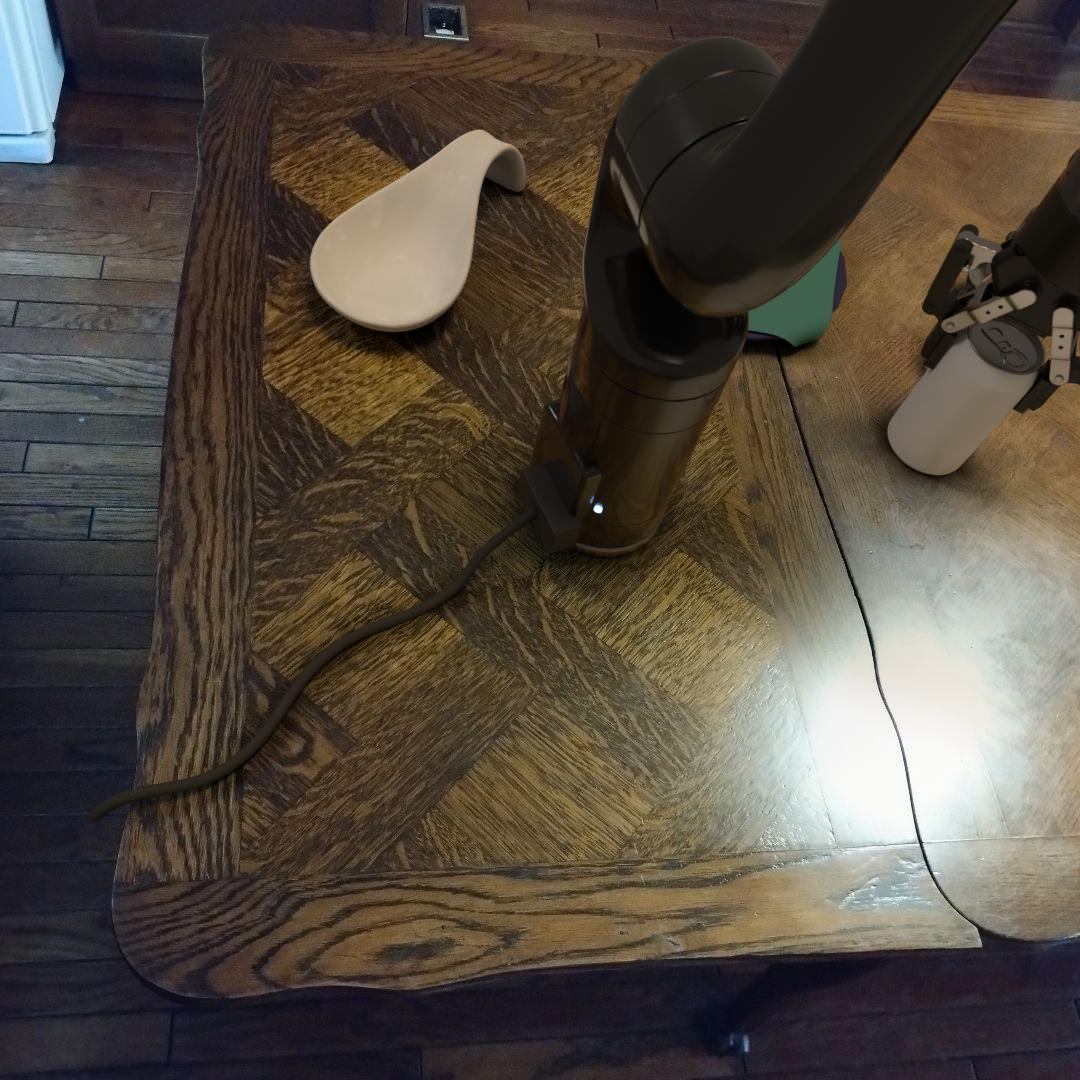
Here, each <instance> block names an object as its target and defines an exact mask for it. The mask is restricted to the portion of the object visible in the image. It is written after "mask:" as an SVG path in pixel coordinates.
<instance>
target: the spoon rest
mask: <svg viewBox="0 0 1080 1080" xmlns="http://www.w3.org/2000/svg"><path fill="white" fill-rule="evenodd" d="M485 178H486V179H488V180H490V181H491V182H494V183H496V184H498V185H500V186H502V187H504V188H506V189H508V190H510V191H513V192H517V193H518V192H523V191H524V190H525V189H526V185H527V172H526V166H525V161H524V158H523V156H522V154H521V152H520V151H519V149H518V148H517V147H516V146H514V145H513V144H510V143H506V142H504V141H502V140H500V139H497V138H496V137H494V136H493V135H491V133H489V132H488V131H487V130H484V129H475V130H471V131H468V132H466V133H464V134H461V135H460V136H458V137H457V138H455V139H454V140H453V141H451V142H450V143H449V144H447V145H446V146H445V147H443V148H442V149H441V150H440V151H438V152H437V153H436V154H434V155H433V156H431V157H430V158H429V159H428V160H425V161H424V162H423V163H421V164H419V166H417V167H416V168H414V169H412V170H411V171H409V172H407V173H406V174H404V175H402V176H401V177H399V178H397V179H396V180H394V181H393V182H391V183H389V184H387V185H386V186H384V187H381V189H379V190H377V191H375V192H374V193H372V194H370V195H369V196H367V197H365V198H364V199H362V200H361V201H359V202H357V203H356V204H354V205H353V206H352V207H350V208H349V209H347V210H346V211H343V213H341V214H340V215H338V216H336V218H335V219H333V220H332V221H331V222H330V223H329V224H328V225H327V226H326V227H325V228H324V229H323V230H322V231H321V233H320V234H319V235H318V237H317V239H316V241H315V243H314V245H313V247H312V250H311V253H310V258H309V271H310V276H311V280H312V283H313V285H314V287H315V290H316V291H317V293H318V294H319V296H320V297H321V299H322V300H323V301H324V302H325V303H326V304H327V306H329V307H330V308H332V309H333V310H334V311H335V312H336V313H338V314H339V315H341V316H342V317H344V318H345V319H347V320H349V321H350V322H352V323H354V324H356V325H359V326H362V327H364V328H367V329H370V330H375V331H380V332H385V333H386V332H388V333H399V332H401V333H402V332H408V331H412V330H416V329H420V328H422V327H425V326H427V325H429V324H431V323H433V322H434V321H435V320H437V319H438V318H440V317H442V315H444V314H445V313H446V312H447V311H448V310H449V309H450V308H451V307H452V306H453V304H454V303H455V302H456V301H457V299H458V298H459V297H460V296H461V295H460V294H461V293H462V291H463V289H464V287H465V285H466V283H467V280H468V276H469V273H470V269H471V264H472V261H473V254H474V253H473V252H474V244H475V237H476V225H477V218H478V217H477V216H478V209H479V203H480V195H481V190H482V188H483V184H484V180H485Z"/></svg>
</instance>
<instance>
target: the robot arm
mask: <svg viewBox="0 0 1080 1080" xmlns="http://www.w3.org/2000/svg"><path fill="white" fill-rule="evenodd" d="M1020 1H1021V0H824V2H823V3H822V5H821V8H820V10H819V11H818V13H817V15H816V18H815V19H814V20H813V23H812V24H811V25H810V27H809V29H808V31H807V33H806V34H805V36H804V38H803V40H802V41H801V43H800V44H799V46H798V47H797V49H796V51H795V52H794V54H793V55H792V56H791V58H790V59H789V61H788V62H787V64H786V65H785V67H784V68H781V65H780V64H779V63H778V62H777V61H776V60H775V59H774V58H773V57H772V56H771V54H769V53H768V52H767V51H765V50H764V49H763V48H762V47H760V46H758V45H757V44H755V43H753V42H750V41H748V40H746V39H742V38H739V37H733V36H725V35H724V36H723V35H722V36H721V35H718V36H709V37H702V38H699V39H695V40H693V41H689V42H687V43H684V44H682V45H680V46H678V47H676V48H674V49H672V50H670V51H669V52H667V53H666V54H664V55H663V56H661V57H660V58H658V59H657V60H656V61H655V62H653V64H651V65H650V66H649V67H648V68H647V69H646V70H645V71H644V72H643V73H642V74H641V75H640V77H638V79H637V80H636V82H634V84H633V86H632V87H631V88H630V89H629V91H628V92H627V93H626V95H625V97H624V98H623V100H622V101H621V104H620V106H619V107H618V109H617V111H616V114H615V116H614V118H613V120H612V123H611V124H610V128H609V131H608V134H607V137H606V139H605V142H604V145H603V146H604V147H603V151H602V154H601V158H600V163H599V167H598V172H597V177H596V180H595V181H596V182H595V187H594V191H593V196H592V201H591V207H590V211H589V217H588V222H587V227H586V232H585V238H584V242H583V248H582V256H581V257H582V258H581V283H582V285H581V286H582V295H583V305H582V309H581V314H580V318H579V323H578V326H577V329H576V333H575V334H576V335H575V338H574V342H573V346H572V349H571V352H570V356H569V360H568V364H567V367H566V371H565V374H564V379H563V382H562V386H561V388H560V389H561V390H560V393H559V397H558V399H554V400H551V401H548V402H545V403H544V405H543V408H542V411H541V415H540V419H539V423H538V427H537V428H538V429H537V432H536V435H535V440H534V444H533V448H532V449H533V450H532V453H531V455H530V461H529V464H528V467H526V468H523V469H521V471H520V476H519V480H518V484H517V487H516V492H517V494H518V496H519V499H520V500H521V503H522V504H523V507H524V508H525V510H526V512H524V513H523V514H522V515H520V516H518V517H517V518H516V519H514V520H513V521H512V522H510V523H509V524H507V525H505V527H503V528H502V529H501V530H500V531H498V532H497V533H496V534H494V535H493V536H492V537H491V538H490V539H488V540H487V541H486V542H485V543H484V544H483V545H481V547H480V548H479V549H478V550H477V551H476V552H475V553H474V554H473V555H472V557H470V559H469V561H468V562H467V563H466V565H465V566H464V568H463V569H462V571H461V572H460V574H459V575H458V576H457V578H455V579H454V581H452V582H451V584H449V585H448V586H446V587H445V588H444V589H442V590H441V591H440V592H439V593H436V594H435V595H433V596H432V597H430V598H429V599H426V600H424V601H423V602H421V603H418V604H416V605H414V606H412V607H409V608H407V609H405V610H402V611H399V612H396V613H394V614H391V615H388V616H386V617H383V618H380V619H378V620H375V621H372V622H370V623H367V624H365V625H363V626H360V627H359V628H358V627H357V628H356V629H354V630H352V631H349V632H348V633H346V634H345V635H343V636H341V637H340V638H338V639H336V640H335V641H334V642H333V643H331V644H330V645H328V646H326V648H324V649H323V650H322V651H321V652H320V653H318V654H317V655H316V656H315V657H314V658H312V659H311V661H310V662H309V663H308V664H307V665H305V667H304V668H303V670H302V671H300V673H299V674H298V675H297V676H296V678H295V679H294V680H293V682H292V683H291V685H290V686H289V687H288V689H287V690H286V692H285V693H284V695H283V696H282V697H281V699H280V700H279V702H278V703H277V704H276V706H275V708H274V709H273V711H272V712H271V714H270V716H268V718H267V719H266V721H265V722H264V724H263V725H262V726H261V727H260V728H259V730H258V731H257V732H256V733H255V734H254V735H253V737H252V738H251V739H250V740H249V741H248V742H247V743H245V745H244V746H243V747H241V748H240V749H239V750H238V751H237V752H236V753H235V754H233V755H232V756H230V757H229V758H228V759H226V760H225V761H224V762H222V763H220V764H219V765H217V766H215V767H213V768H211V769H209V770H207V771H204V772H201V773H198V774H195V775H193V776H189V777H186V778H181V779H175V780H171V781H165V782H158V783H153V784H147V785H142V786H138V787H134V788H135V791H134V788H130V789H126V790H124V791H121V792H118V793H116V794H114V795H112V796H110V797H109V798H107V799H105V800H103V801H102V802H101V803H99V804H98V805H96V806H95V807H94V808H93V809H92V810H91V811H90V812H89V813H88V815H87V820H88V821H89V823H97V822H99V821H101V820H102V819H103V818H104V817H105V816H107V815H108V814H110V813H111V812H113V811H114V810H116V809H118V808H120V807H123V806H126V805H128V804H131V803H134V802H139V801H143V800H147V799H153V798H159V797H164V796H165V797H166V796H170V795H177V794H180V793H185V792H188V791H193V790H197V789H200V788H202V787H205V786H208V785H211V784H213V783H214V782H217V781H219V780H220V779H222V778H225V777H227V776H228V775H229V774H231V773H232V772H234V771H235V770H237V769H238V768H240V767H241V766H242V765H243V764H245V763H246V762H247V761H248V760H249V759H250V758H251V757H252V756H253V755H255V754H256V752H258V750H259V749H260V748H261V747H262V746H263V745H265V743H266V742H267V740H268V739H269V738H270V737H271V736H272V734H273V733H274V732H275V730H276V729H277V728H278V726H280V724H281V722H282V720H283V719H284V718H285V716H286V714H287V713H288V711H290V708H291V707H292V705H293V704H294V702H295V701H296V700H297V698H298V696H299V695H300V694H301V692H302V691H303V690H304V688H305V687H306V686H307V684H308V683H309V682H310V681H311V679H312V678H313V677H314V676H315V675H316V674H317V673H318V672H319V671H320V669H322V668H323V667H324V666H325V665H326V664H327V663H328V662H329V661H330V660H332V659H333V658H334V657H336V656H337V655H338V654H339V653H341V652H343V651H344V650H345V649H346V648H348V647H350V646H352V645H353V644H355V643H357V642H360V641H362V640H364V639H365V638H367V637H370V636H372V635H374V634H377V633H379V632H382V631H384V630H385V631H386V630H388V629H390V628H393V627H395V626H398V625H401V624H403V623H407V622H408V621H411V620H414V619H416V618H418V617H421V616H422V615H425V614H427V613H429V612H430V611H433V610H434V609H436V608H438V607H439V606H441V605H443V604H444V603H446V602H447V601H448V600H450V599H452V598H453V597H454V596H456V594H457V595H458V593H459V592H460V591H461V590H462V589H463V588H464V587H465V586H466V585H467V584H468V583H469V581H470V580H471V579H472V577H473V576H474V574H475V572H476V571H477V569H479V567H480V566H481V564H482V563H483V562H484V561H485V560H486V558H487V557H488V556H490V555H491V554H492V553H493V552H494V551H495V550H496V549H497V548H498V547H500V546H501V545H502V544H503V543H505V542H506V541H508V539H509V538H511V537H513V536H514V535H515V534H517V533H518V532H519V531H521V530H522V529H523V528H525V527H526V526H527V525H530V523H532V524H533V526H534V528H535V530H536V532H537V534H538V536H539V538H540V540H541V542H542V543H543V546H544V548H545V550H546V552H547V553H548V554H549V555H551V554H555V553H560V554H564V553H567V552H572V551H577V552H579V553H582V554H585V555H588V556H593V557H605V558H608V557H609V558H611V557H619V556H623V555H627V554H630V553H633V552H635V551H637V550H639V549H640V548H642V547H644V546H645V545H647V543H648V542H649V541H651V539H653V538H654V536H655V535H656V533H657V531H658V530H659V527H660V525H661V524H662V521H663V519H664V516H665V513H666V510H667V508H668V506H669V504H670V502H671V500H672V498H673V494H674V493H675V491H676V489H677V487H678V485H679V482H680V481H681V479H682V477H683V474H684V472H685V470H686V468H687V466H688V464H689V461H690V459H691V458H692V455H693V454H694V451H695V449H696V447H697V445H698V443H699V440H700V439H701V437H702V435H703V432H704V430H705V428H706V427H707V424H708V422H709V420H710V418H711V415H712V414H713V412H714V410H715V408H716V406H717V404H718V402H719V400H720V397H721V396H722V393H723V391H724V389H725V387H726V385H727V383H728V381H729V379H730V377H731V374H732V373H733V371H734V369H735V367H736V364H737V363H738V361H739V359H740V357H741V355H742V352H743V350H744V347H745V344H746V341H747V340H746V338H747V334H748V326H749V313H748V311H751V310H753V309H756V308H758V307H760V306H762V305H764V304H766V303H767V302H769V301H771V300H773V299H775V298H776V297H778V296H779V295H781V294H782V293H783V292H785V291H786V290H787V289H789V288H790V287H791V286H793V285H794V284H795V283H797V282H798V281H799V280H801V279H802V278H803V277H804V276H805V275H806V274H807V273H808V272H809V271H810V270H811V269H812V268H813V267H814V266H815V265H816V264H817V263H818V262H819V261H820V260H821V259H822V258H823V257H824V256H825V255H826V254H827V253H828V252H829V250H830V249H831V248H832V247H833V246H834V245H835V243H836V242H837V241H838V240H839V238H840V239H841V238H842V236H843V235H844V234H845V232H846V231H847V230H848V229H849V227H850V226H851V225H852V223H853V222H854V221H855V220H856V218H857V217H858V216H859V214H860V213H861V211H862V210H863V208H864V207H865V206H866V204H867V203H868V202H869V200H870V199H871V198H872V197H873V195H874V193H875V192H876V191H877V189H878V188H879V187H880V185H881V184H882V182H883V181H884V180H885V178H886V177H887V176H888V174H889V173H890V172H891V170H892V169H893V167H894V166H895V164H896V163H897V161H898V160H899V159H900V157H901V156H902V154H903V153H904V152H905V151H906V149H907V148H908V146H909V145H910V143H911V142H912V141H913V139H914V138H915V137H916V135H917V134H918V133H919V131H920V130H921V128H922V127H923V125H924V124H925V123H926V121H927V120H928V119H929V118H930V116H931V115H932V113H933V112H934V110H935V109H936V108H937V106H938V105H939V104H940V102H941V101H942V99H943V98H945V96H946V95H947V93H948V92H949V90H950V89H951V88H952V86H953V85H954V84H955V83H956V81H957V80H958V78H959V77H960V76H961V74H962V73H963V72H964V70H965V69H966V68H967V67H968V65H969V64H970V63H971V62H972V60H973V59H974V58H975V57H976V56H977V54H978V53H979V52H980V50H981V49H982V48H983V46H985V44H987V42H988V40H989V39H990V38H991V37H992V36H993V34H994V33H995V32H996V31H997V29H998V28H999V27H1000V26H1001V25H1002V23H1003V22H1004V21H1005V20H1006V18H1008V16H1009V15H1010V13H1011V12H1013V10H1014V9H1015V8H1016V7H1017V5H1018V4H1019V3H1020ZM1044 195H1045V196H1044V197H1043V198H1042V200H1041V201H1040V202H1039V203H1038V205H1037V206H1038V207H1037V208H1036V209H1035V211H1034V212H1033V213H1032V215H1031V216H1030V218H1029V219H1028V220H1027V222H1026V223H1025V224H1024V226H1023V227H1022V229H1021V230H1020V231H1019V232H1018V234H1016V235H1015V236H1014V237H1013V238H1011V239H1009V240H1007V241H1005V240H1004V241H1003V242H1002V243H997V242H994V241H992V240H990V239H987V238H983V237H981V236H979V234H980V230H979V228H978V226H976V224H972V223H967V224H964V225H963V226H961V228H960V229H959V231H958V232H957V235H956V236H955V239H954V240H953V243H952V245H951V246H950V247H949V250H948V252H947V254H946V256H945V257H944V260H943V261H942V263H941V266H940V267H939V269H938V271H937V272H936V275H935V277H934V279H933V280H932V283H931V285H930V287H929V289H928V291H927V293H926V296H925V298H924V300H923V302H922V304H921V310H922V312H923V313H924V314H926V315H928V316H934V318H936V319H937V322H936V324H935V325H934V326H933V328H932V329H931V331H930V332H929V333H928V335H927V336H926V338H925V341H924V343H923V345H922V347H921V349H920V357H923V358H925V359H924V360H923V363H922V366H924V367H925V366H926V367H928V368H930V369H932V368H933V367H934V366H935V364H936V363H937V362H938V360H939V359H940V358H941V356H942V355H943V354H944V352H945V351H946V350H947V348H948V347H949V346H950V344H951V343H952V342H953V340H954V339H955V338H956V335H957V333H958V331H959V330H961V329H964V328H966V327H968V326H970V325H973V324H975V323H977V324H978V325H981V324H983V323H986V322H988V321H990V320H993V319H995V318H997V317H1000V316H1002V317H1001V318H1002V319H1004V320H1006V321H1008V322H1010V323H1013V324H1017V325H1021V326H1024V327H1026V328H1027V329H1028V330H1030V331H1031V332H1032V333H1033V334H1035V335H1037V336H1038V337H1039V338H1040V339H1041V338H1042V339H1044V340H1045V339H1046V338H1047V337H1051V341H1050V350H1049V351H1050V352H1049V354H1050V355H1049V358H1048V359H1046V360H1045V361H1044V364H1043V365H1042V367H1041V368H1040V369H1039V373H1038V377H1037V379H1036V381H1035V383H1034V384H1033V386H1032V387H1031V388H1030V389H1029V391H1028V392H1027V393H1026V394H1025V395H1024V396H1023V398H1022V399H1021V400H1020V401H1019V402H1018V403H1017V404H1016V405H1015V407H1014V408H1013V409H1012V410H1013V411H1015V412H1018V413H1020V414H1021V415H1023V414H1025V413H1026V412H1027V410H1029V411H1032V412H1034V411H1036V410H1039V409H1040V408H1041V407H1042V406H1043V405H1045V403H1046V402H1048V400H1049V399H1050V398H1051V396H1053V395H1054V394H1055V392H1056V391H1057V390H1058V389H1059V388H1060V387H1062V386H1064V385H1066V384H1074V385H1078V386H1080V356H1078V355H1077V350H1078V339H1079V334H1080V147H1079V148H1077V149H1076V150H1075V151H1074V152H1073V154H1072V155H1071V156H1070V157H1069V159H1068V162H1067V164H1066V167H1065V168H1064V169H1063V171H1062V172H1061V173H1060V175H1059V176H1058V178H1057V179H1056V180H1055V182H1053V184H1052V186H1051V187H1050V188H1049V190H1048V191H1047V193H1046V194H1044ZM981 263H991V274H992V278H990V279H988V280H986V281H984V282H982V283H981V284H980V285H979V286H978V287H977V288H976V289H974V290H972V291H970V292H968V293H966V294H964V295H961V296H959V297H957V298H956V297H955V296H954V295H953V294H954V293H953V292H951V291H952V288H953V287H954V285H955V283H956V282H957V280H958V277H959V276H960V275H961V272H963V273H968V272H969V271H972V270H974V269H975V268H976V267H977V266H978V265H979V264H981ZM132 799H133V800H132Z"/></svg>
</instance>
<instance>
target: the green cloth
mask: <svg viewBox="0 0 1080 1080" xmlns="http://www.w3.org/2000/svg"><path fill="white" fill-rule="evenodd" d="M841 248H842V238H841V237H840V238H839V240H838V241H837V242H836V243H835V245H834V246H833V247H832V248H831V249H830V250H829V252H828V253H827V254H826V255H825V256H824V257H823V258H822V259H821V260H820V261H819V262H818V263H817V264H816V265H815V266H814V267H813V268H812V269H811V270H810V271H809V272H808V273H807V274H806V275H805V276H804V277H803V278H802V279H801V280H799V281H798V282H797V283H795V284H794V285H793V286H791V287H790V288H789V289H787V290H786V291H785V292H783V293H782V294H781V295H779V296H778V297H776V298H775V299H773V300H771V301H769V302H767V303H766V304H764V305H762V306H760V307H758V308H756V309H753V310H751V311H748V313H749V326H748V334H747V338H746V341H752V342H757V341H770V340H785V341H787V342H788V343H790V344H791V345H792V346H793V347H794V348H797V347H799V346H801V345H804V344H806V343H810V342H814V341H816V340H818V339H819V338H821V337H823V335H824V334H825V332H826V331H827V330H828V328H829V326H830V323H831V321H832V315H833V313H834V312H835V311H836V310H837V309H838V308H839V306H840V304H841V301H842V299H843V296H844V293H845V291H846V288H847V286H848V279H847V268H846V259H845V256H844V254H843V252H842V250H841Z"/></svg>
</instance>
